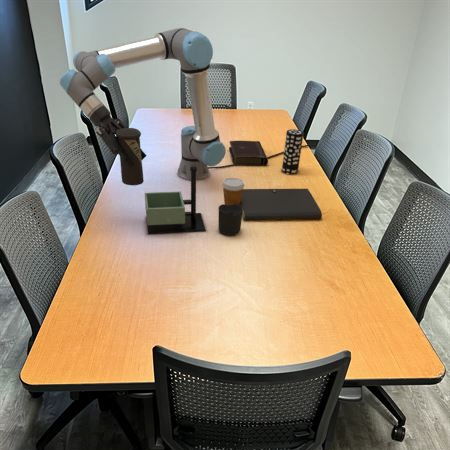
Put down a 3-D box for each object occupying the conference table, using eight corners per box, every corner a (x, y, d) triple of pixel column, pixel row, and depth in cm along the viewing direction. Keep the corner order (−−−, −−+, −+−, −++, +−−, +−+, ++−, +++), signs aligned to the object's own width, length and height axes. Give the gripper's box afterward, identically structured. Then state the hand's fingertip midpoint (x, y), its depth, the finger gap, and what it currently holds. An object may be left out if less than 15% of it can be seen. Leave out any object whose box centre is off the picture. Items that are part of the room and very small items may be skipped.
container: (139, 187, 175) (135, 134, 162) (117, 184, 176) (111, 132, 164) (147, 178, 181) (144, 127, 169) (126, 175, 183) (121, 124, 170)
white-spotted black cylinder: (279, 172, 233) (284, 133, 221) (284, 167, 239) (289, 128, 227) (295, 175, 231) (301, 135, 219) (299, 170, 237) (305, 131, 225)
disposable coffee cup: (245, 205, 202) (247, 179, 195) (238, 214, 195) (240, 188, 187) (225, 201, 204) (226, 175, 197) (217, 210, 197) (218, 184, 190)
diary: (260, 149, 259) (260, 140, 256) (267, 166, 240) (268, 156, 237) (227, 149, 257) (227, 140, 254) (232, 166, 238) (233, 156, 235)
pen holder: (233, 239, 178) (234, 216, 172) (213, 232, 182) (213, 209, 176) (245, 229, 184) (247, 207, 178) (225, 223, 188) (226, 200, 182)
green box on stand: (200, 214, 193) (201, 158, 178) (205, 231, 182) (206, 172, 167) (146, 217, 189) (142, 159, 175) (148, 234, 178) (143, 174, 163)
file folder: (307, 187, 210) (322, 212, 191) (306, 195, 213) (320, 221, 194) (237, 188, 206) (244, 213, 188) (236, 196, 209) (244, 222, 190)
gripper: (105, 110, 177) (145, 158, 183) (74, 125, 161) (119, 177, 167) (116, 98, 172) (157, 147, 178) (85, 112, 157) (131, 165, 163)
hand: (138, 161), depth 173 cm, fingers closed on container, 8 cm apart
